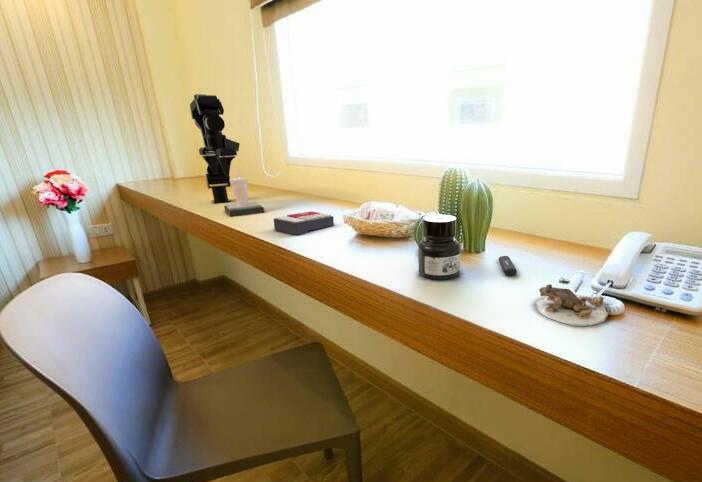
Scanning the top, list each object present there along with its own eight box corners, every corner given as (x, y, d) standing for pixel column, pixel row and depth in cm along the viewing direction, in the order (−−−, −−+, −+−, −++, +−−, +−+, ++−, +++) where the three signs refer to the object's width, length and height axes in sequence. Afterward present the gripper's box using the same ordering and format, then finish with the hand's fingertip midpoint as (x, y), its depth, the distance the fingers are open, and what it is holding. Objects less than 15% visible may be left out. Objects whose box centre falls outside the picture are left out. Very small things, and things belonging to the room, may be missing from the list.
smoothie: (241, 207, 145) (234, 168, 139) (230, 205, 148) (223, 167, 143) (255, 204, 150) (249, 166, 144) (245, 202, 153) (238, 165, 148)
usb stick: (497, 261, 91) (498, 255, 90) (509, 261, 91) (509, 255, 90) (504, 276, 82) (505, 269, 81) (517, 276, 82) (517, 269, 81)
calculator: (333, 214, 125) (295, 220, 114) (334, 227, 126) (296, 235, 115) (311, 210, 131) (272, 216, 120) (312, 223, 133) (273, 230, 121)
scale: (225, 211, 151) (223, 204, 150) (257, 207, 157) (256, 201, 156) (230, 216, 142) (228, 209, 141) (264, 212, 148) (263, 205, 147)
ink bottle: (427, 284, 79) (427, 225, 74) (410, 270, 86) (409, 216, 82) (469, 276, 82) (471, 220, 78) (449, 263, 90) (450, 211, 85)
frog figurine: (532, 320, 63) (534, 298, 62) (537, 292, 74) (540, 273, 72) (610, 331, 60) (615, 308, 58) (604, 300, 70) (608, 280, 69)
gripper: (246, 131, 147) (253, 174, 152) (223, 131, 158) (230, 171, 164) (217, 132, 139) (225, 177, 144) (194, 132, 150) (203, 174, 156)
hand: (221, 174), depth 152 cm, fingers open, 9 cm apart
